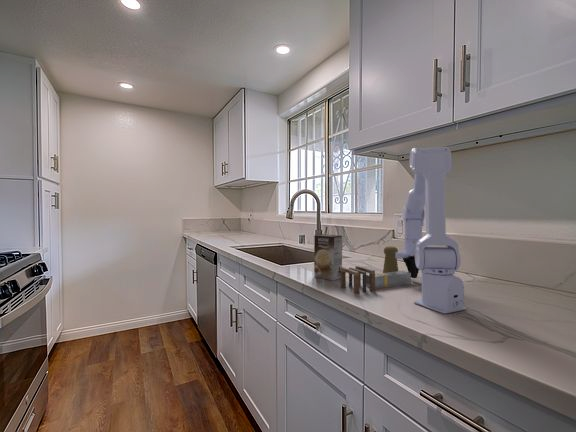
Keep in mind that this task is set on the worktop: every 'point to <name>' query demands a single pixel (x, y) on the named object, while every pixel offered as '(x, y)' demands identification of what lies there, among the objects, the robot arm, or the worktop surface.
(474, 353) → the worktop surface
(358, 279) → the wooden slatted rack
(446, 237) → the robot arm
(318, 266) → the coffee box
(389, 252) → the cork
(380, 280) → the tube
